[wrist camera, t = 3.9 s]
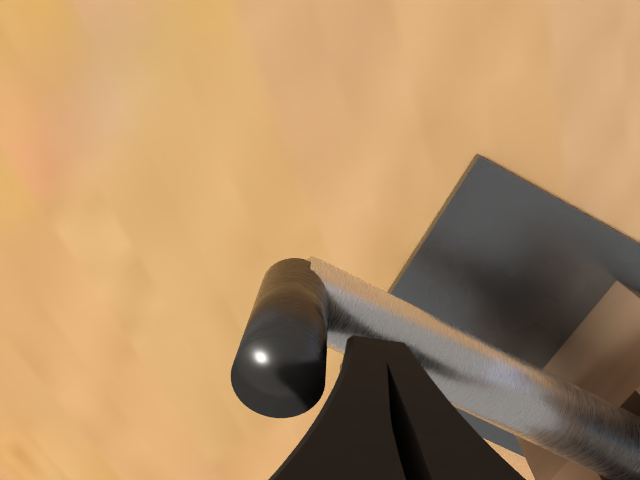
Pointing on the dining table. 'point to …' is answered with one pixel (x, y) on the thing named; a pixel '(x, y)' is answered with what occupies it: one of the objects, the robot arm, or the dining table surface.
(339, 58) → the dining table surface
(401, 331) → the crank handle
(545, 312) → the base plate
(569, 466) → the bearing block
